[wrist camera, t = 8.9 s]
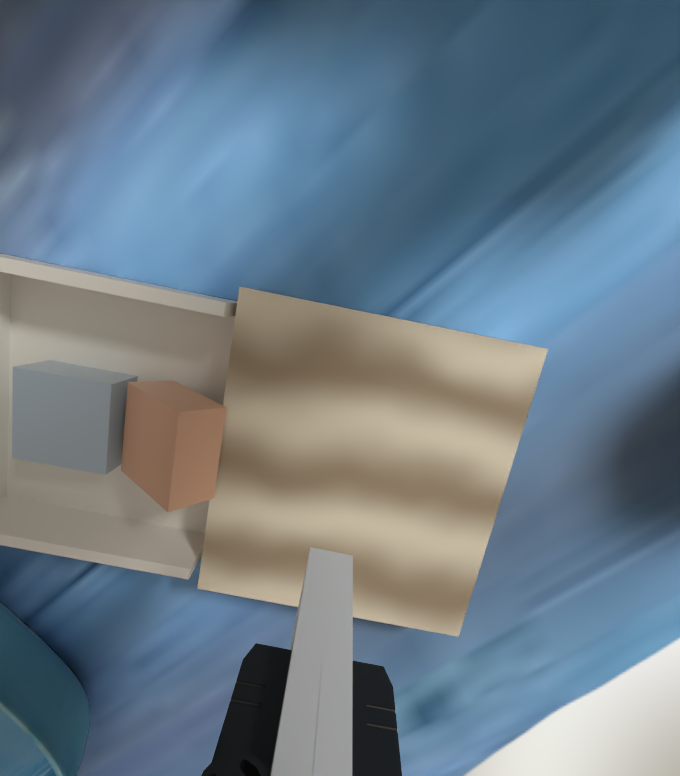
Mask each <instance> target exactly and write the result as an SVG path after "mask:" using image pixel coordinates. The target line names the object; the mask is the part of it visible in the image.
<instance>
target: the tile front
mask: <svg viewBox="0 0 680 776" xmlns="http://www.w3.org/2000/svg"><path fill="white" fill-rule="evenodd" d="M225 414H226V407H225V406H223V405H221V404H219V403H217V402H215V401H213V400H211V399H209V398H207V397H205V396H203V395H201V394H199V393H197V392H195V391H193V390H191V389H189V388H187V387H185V386H183V385H181V384H179V383H177V382H176V381H147V382H128V389H127V401H126V413H125V425H124V437H123V449H122V461H121V471H122V472H123V473H124V474H125V475H127V476H128V477H129V478H130V479H131V480H132V481H133V482H134V483H136V484H137V485H138V486H139V487H140V488H141V489H142V490H143V491H144V492H146V493H147V494H148V495H149V496H150V497H151V498H152V499H153V500H154V501H156V502H157V503H158V504H159V505H160V506H161V507H162V508H163V509H164V510H166V511H167V512H171V511H174V510H178V509H181V508H184V507H187V506H190V505H193V504H196V503H200V502H203V501H206V500H209V499H212V498H214V493H215V486H216V479H217V471H218V464H219V457H220V450H221V443H222V435H223V428H224V421H225Z"/></svg>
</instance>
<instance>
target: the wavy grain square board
mask: <svg viewBox="0 0 680 776" xmlns="http://www.w3.org/2000/svg"><path fill="white" fill-rule="evenodd" d="M547 351H548V349H545V348H540V347H535V346H531V345H526V344H521V343H516V342H511V341H506V340H501V339H496V338H491V337H486V336H482V335H477V334H472V333H467V332H462V331H457V330H452V329H447V328H442V327H437V326H432V325H427V324H422V323H418V322H413V321H408V320H403V319H398V318H393V317H388V316H383V315H378V314H373V313H368V312H363V311H358V310H354V309H349V308H344V307H339V306H334V305H329V304H324V303H319V302H314V301H309V300H304V299H299V298H294V297H290V296H285V295H280V294H275V293H270V292H265V291H260V290H255V289H250V288H245V287H240V286H239V294H238V301H237V308H236V315H235V322H234V329H233V337H232V344H231V351H230V358H229V365H228V372H227V380H226V387H225V394H224V401H223V406H225V407H226V414H225V421H224V428H223V435H222V443H221V450H220V457H219V464H218V471H217V479H216V486H215V493H214V498H212V499H210V501H209V508H208V516H207V523H206V530H205V537H204V544H203V551H202V558H201V566H200V573H199V580H198V587H197V589H202V590H207V591H213V592H218V593H224V594H229V595H235V596H240V597H246V598H251V599H257V600H262V601H268V602H273V603H278V604H284V605H289V606H295V607H298V605H299V600H300V595H301V591H302V586H303V581H304V576H305V571H306V566H307V561H308V557H309V552H310V547H312V548H317V549H323V550H328V551H333V552H338V553H343V554H348V555H353V617H355V618H360V619H366V620H371V621H377V622H382V623H388V624H393V625H398V626H404V627H409V628H415V629H420V630H426V631H431V632H437V633H442V634H448V635H453V636H459V633H460V630H461V627H462V624H463V620H464V617H465V614H466V611H467V608H468V604H469V601H470V598H471V595H472V592H473V588H474V585H475V582H476V579H477V576H478V572H479V569H480V566H481V563H482V559H483V556H484V553H485V550H486V547H487V543H488V540H489V537H490V534H491V531H492V527H493V524H494V521H495V518H496V515H497V511H498V508H499V505H500V502H501V499H502V495H503V492H504V489H505V486H506V482H507V479H508V476H509V473H510V470H511V466H512V463H513V460H514V457H515V454H516V450H517V447H518V444H519V441H520V438H521V434H522V431H523V428H524V425H525V422H526V418H527V415H528V412H529V409H530V405H531V402H532V399H533V396H534V393H535V389H536V386H537V383H538V380H539V377H540V373H541V370H542V367H543V364H544V361H545V357H546V354H547Z"/></svg>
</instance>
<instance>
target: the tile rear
mask: <svg viewBox="0 0 680 776" xmlns="http://www.w3.org/2000/svg"><path fill="white" fill-rule="evenodd" d="M137 378H138V376H135V375H129V374H124V373H118V372H113V371H107V370H102V369H96V368H91V367H86V366H80V365H75V364H69V363H64V362H58V361H53V360H47V361H42V362H36V363H31V364H25V365H19V366H14V367H13V392H12V458H13V459H19V460H24V461H30V462H36V463H41V464H47V465H53V466H58V467H64V468H70V469H75V470H81V471H87V472H92V473H98V474H104V475H106V474H108V473H109V472H111V471H112V470H114V469H115V468H116V467H118V466H119V465H121V461H122V449H123V437H124V425H125V413H126V401H127V389H128V382H137Z"/></svg>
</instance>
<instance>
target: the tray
mask: <svg viewBox="0 0 680 776" xmlns="http://www.w3.org/2000/svg"><path fill="white" fill-rule="evenodd" d="M236 308H237V301H233V300H228V299H223V298H218V297H213V296H208V295H203V294H198V293H193V292H188V291H183V290H178V289H173V288H168V287H164V286H159V285H154V284H149V283H144V282H139V281H134V280H129V279H124V278H119V277H114V276H109V275H104V274H99V273H94V272H89V271H84V270H79V269H75V268H70V267H65V266H60V265H55V264H50V263H45V262H40V261H35V260H30V259H25V258H20V257H15V256H10V255H5V254H0V545H3V546H8V547H14V548H19V549H24V550H30V551H35V552H41V553H46V554H52V555H57V556H63V557H68V558H73V559H79V560H84V561H90V562H95V563H101V564H106V565H112V566H117V567H122V568H128V569H133V570H139V571H144V572H150V573H155V574H161V575H166V576H171V577H177V578H182V579H188V580H189V578H190V576H191V575H192V573H193V571H194V569H195V568H196V566H197V564H198V563H199V561H200V559H201V557H202V551H203V544H204V537H205V530H206V523H207V516H208V508H209V501H210V499H209V500H206V501H203V502H200V503H196V504H193V505H190V506H187V507H184V508H181V509H178V510H174V511H171V512H167V511H166V510H164V509H163V508H162V507H161V506H160V505H159V504H158V503H157V502H156V501H154V500H153V499H152V498H151V497H150V496H149V495H148V494H147V493H146V492H144V491H143V490H142V489H141V488H140V487H139V486H138V485H137V484H136V483H134V482H133V481H132V480H131V479H130V478H129V477H128V476H127V475H125V474H124V473H123V472H122V471H121V465H119V466H118V467H116V468H115V469H114V470H112V471H111V472H109V473H108V474H106V475H104V474H98V473H92V472H87V471H81V470H75V469H70V468H64V467H58V466H53V465H47V464H41V463H36V462H30V461H24V460H19V459H13V458H12V392H13V367H14V366H19V365H25V364H31V363H36V362H42V361H47V360H53V361H58V362H64V363H69V364H75V365H80V366H86V367H91V368H96V369H102V370H107V371H113V372H118V373H124V374H129V375H135V376H138V378H137V382H147V381H176V382H177V383H179V384H181V385H183V386H185V387H187V388H189V389H191V390H193V391H195V392H197V393H199V394H201V395H203V396H205V397H207V398H209V399H211V400H213V401H215V402H217V403H219V404H221V405H223V401H224V394H225V387H226V380H227V372H228V365H229V358H230V351H231V344H232V337H233V329H234V322H235V315H236Z"/></svg>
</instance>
